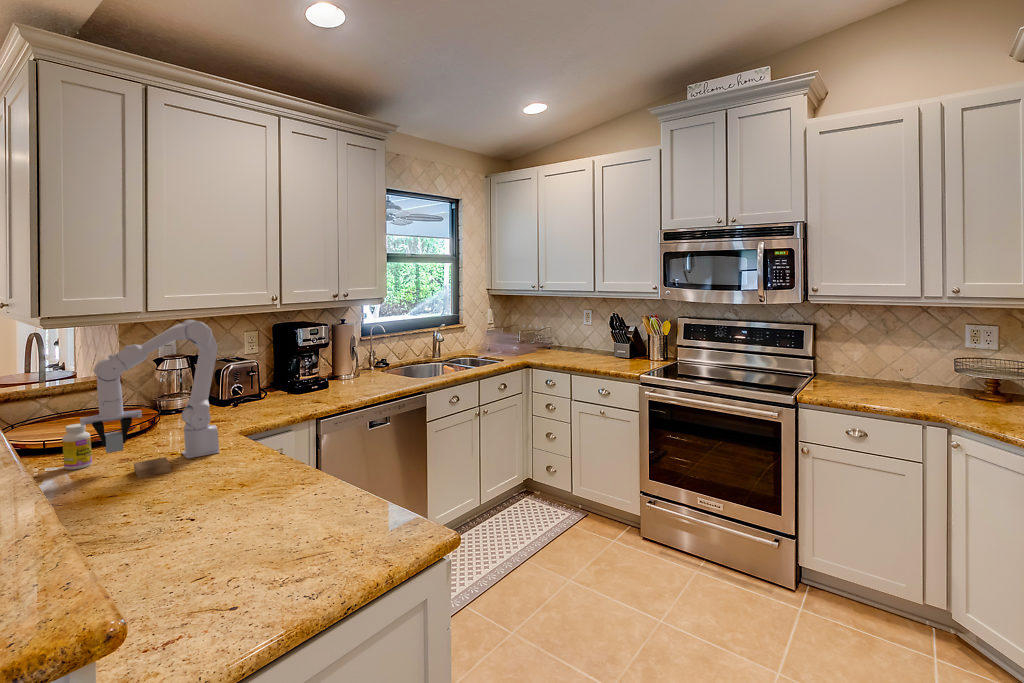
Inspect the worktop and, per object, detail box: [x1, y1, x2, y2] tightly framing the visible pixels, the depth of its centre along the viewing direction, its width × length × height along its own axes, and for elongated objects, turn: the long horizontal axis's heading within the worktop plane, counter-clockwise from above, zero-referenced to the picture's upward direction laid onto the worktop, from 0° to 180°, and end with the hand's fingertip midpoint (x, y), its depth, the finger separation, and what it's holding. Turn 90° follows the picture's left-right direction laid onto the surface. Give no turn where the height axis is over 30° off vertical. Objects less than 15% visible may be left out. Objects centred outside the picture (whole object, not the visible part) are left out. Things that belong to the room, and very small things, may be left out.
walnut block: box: [133, 456, 172, 480], centre depth 156 cm, size 8×8×3 cm
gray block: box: [104, 431, 125, 454], centre depth 156 cm, size 4×4×5 cm
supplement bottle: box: [61, 423, 93, 471], centre depth 159 cm, size 7×7×13 cm
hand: (114, 444), depth 157 cm, fingers closed on gray block, 4 cm apart
